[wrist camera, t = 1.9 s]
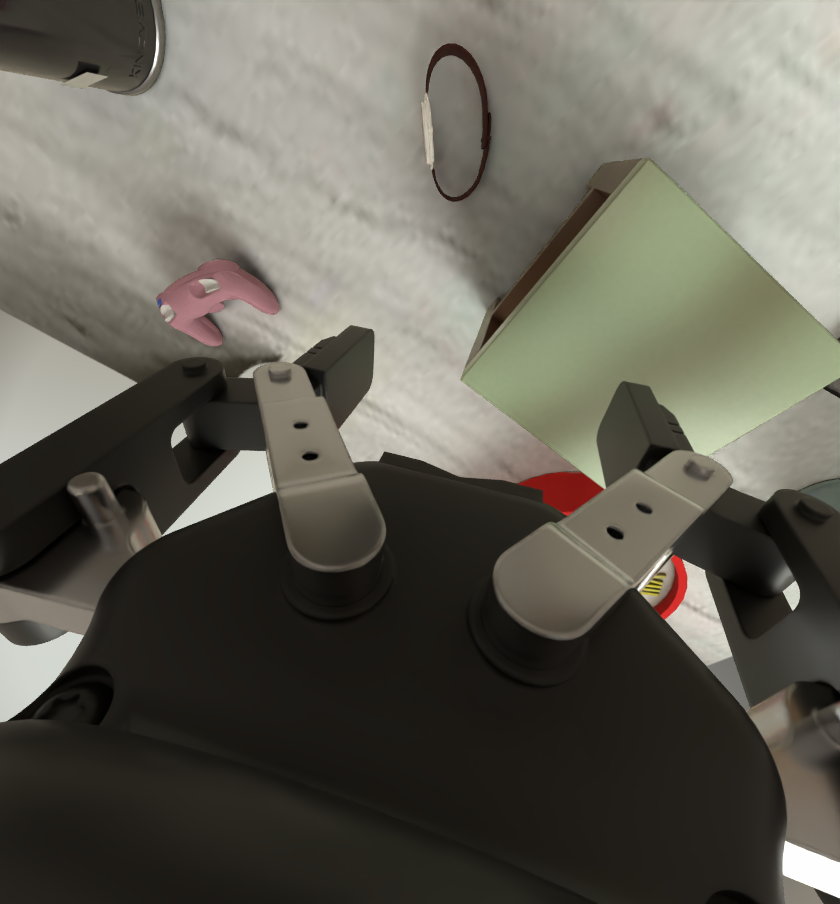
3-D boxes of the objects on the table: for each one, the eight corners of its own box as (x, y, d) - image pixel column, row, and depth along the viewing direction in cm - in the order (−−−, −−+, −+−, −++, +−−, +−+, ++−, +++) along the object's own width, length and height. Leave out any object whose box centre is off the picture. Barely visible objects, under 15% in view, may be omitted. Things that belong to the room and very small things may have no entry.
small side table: (486, 311, 32) (459, 380, 22) (604, 162, 25) (649, 156, 15) (599, 403, 35) (625, 506, 24) (738, 289, 27) (863, 364, 17)
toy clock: (742, 580, 35) (590, 658, 47) (719, 532, 39) (586, 614, 52) (550, 476, 33) (446, 584, 46) (549, 439, 38) (454, 546, 50)
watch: (417, 60, 25) (401, 46, 22) (492, 43, 23) (486, 25, 21) (430, 203, 29) (418, 207, 26) (494, 195, 28) (489, 198, 25)
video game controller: (272, 265, 36) (204, 240, 30) (286, 313, 36) (221, 298, 30) (207, 307, 41) (135, 293, 34) (219, 349, 41) (150, 343, 35)
